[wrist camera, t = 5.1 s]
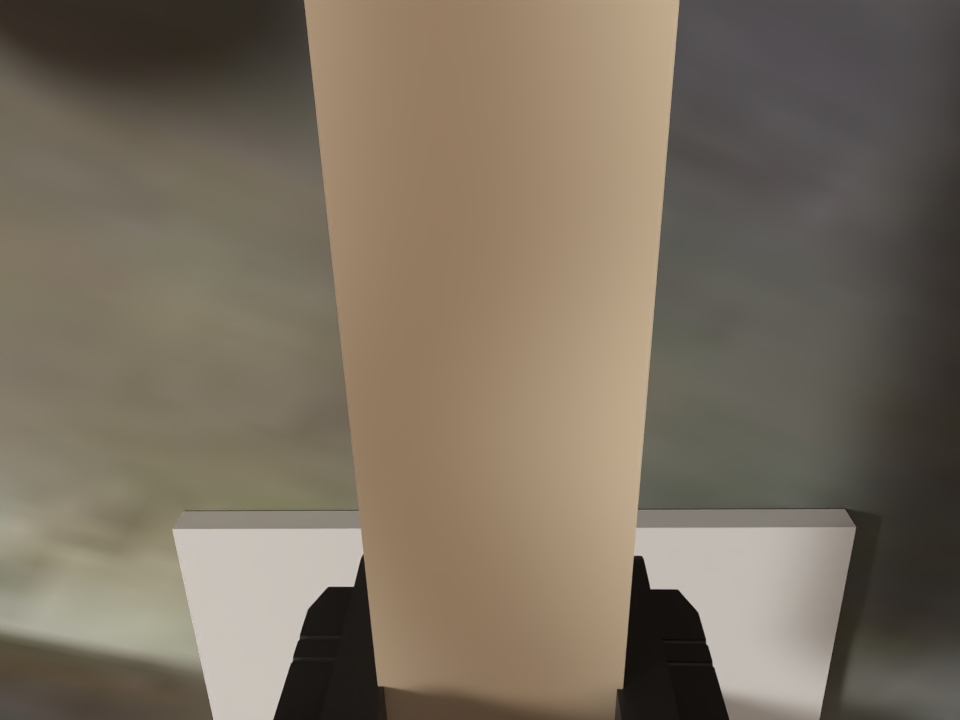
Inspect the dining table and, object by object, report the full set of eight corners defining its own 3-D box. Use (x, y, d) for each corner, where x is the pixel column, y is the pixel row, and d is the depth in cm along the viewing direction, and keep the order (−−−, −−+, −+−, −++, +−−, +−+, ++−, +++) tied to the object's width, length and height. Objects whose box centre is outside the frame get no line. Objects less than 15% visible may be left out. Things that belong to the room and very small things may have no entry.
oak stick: (627, -135, 10) (692, -160, 6) (573, 896, 19) (587, 1120, 16) (367, -129, 10) (287, -150, 6) (440, 893, 19) (423, 1114, 16)
